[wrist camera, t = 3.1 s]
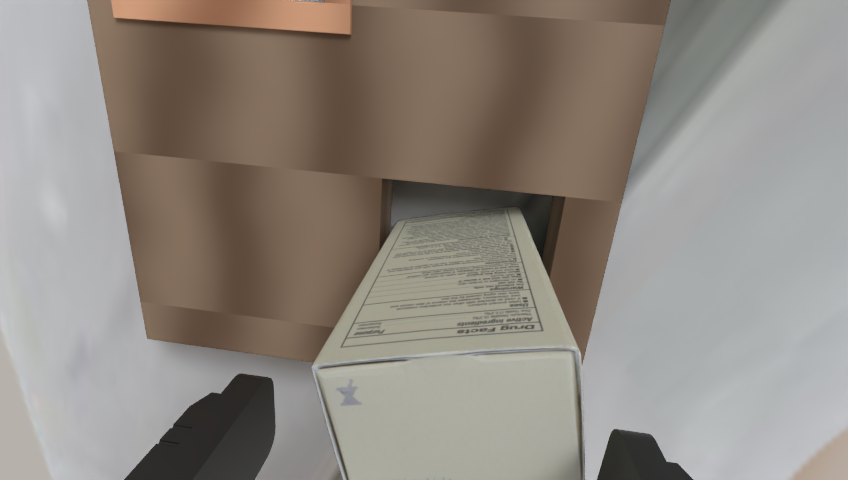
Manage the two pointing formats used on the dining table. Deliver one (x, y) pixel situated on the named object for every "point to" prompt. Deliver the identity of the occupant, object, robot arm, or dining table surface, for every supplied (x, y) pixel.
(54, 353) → the dining table surface
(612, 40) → the socket board
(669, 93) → the dining table surface
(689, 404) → the dining table surface
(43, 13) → the dining table surface
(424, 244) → the skincare box
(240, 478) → the robot arm
